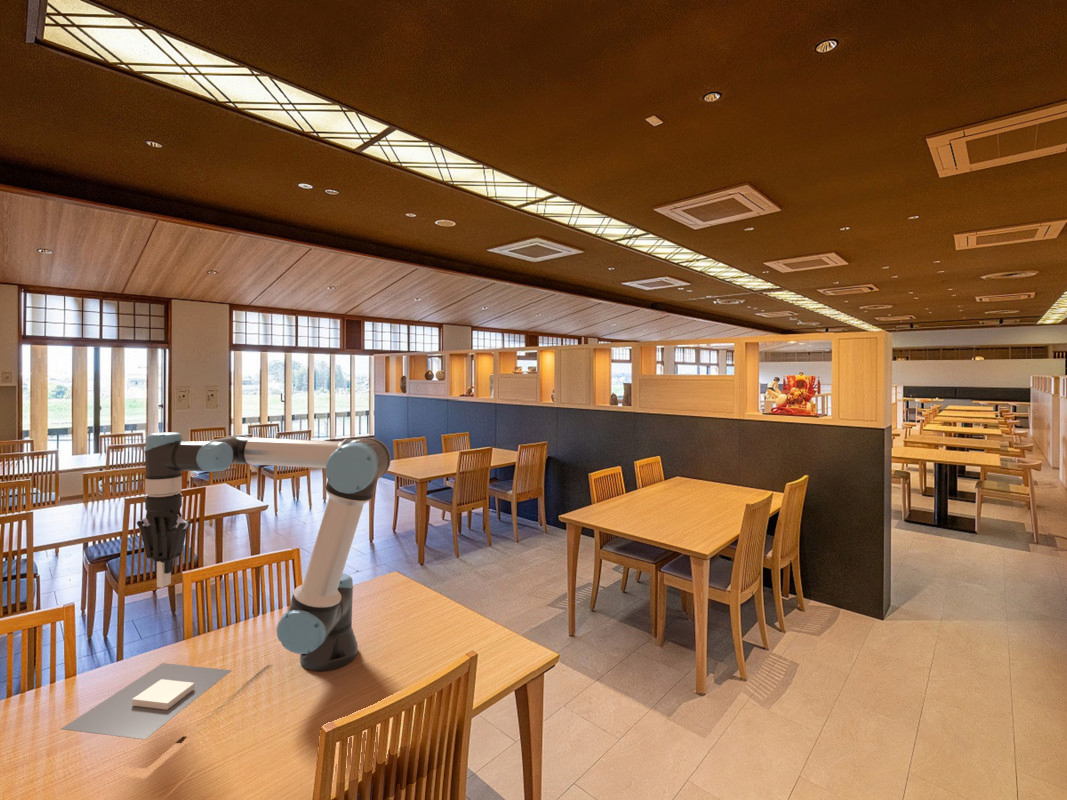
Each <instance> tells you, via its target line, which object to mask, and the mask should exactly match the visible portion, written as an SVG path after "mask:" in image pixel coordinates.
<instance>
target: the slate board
mask: <svg viewBox="0 0 1067 800" xmlns="http://www.w3.org/2000/svg"><path fill="white" fill-rule="evenodd" d="M232 671H233V670H231V669H222V668H213V667H205V666H204V667H203V666H194V665H186V664H185V665H183V664H174V663H167V662H162V663H160V664H159V665H157V666H155V667H154V668H153V669H151V670H150V671H148V672H146V673H145V674H143V675H142V676H140V677H138V678H137V679H136V680H134V681H133V682H131V683H129V684H128V685H127V686H125V687H123V688H122V689H120V690H119V691H117V692H116V693H114V694H112V695H111V696H110V697H108V698H106V699H104V700H103V701H101V702H100V703H98V704H97V705H95V706H93V708H90V709H89V710H87V711H86V712H84V713H83V714H81V715H79V716H78V717H77V718H75V719H74V720H72V721H70V722H69V723H67V724H66V725H64V726H63V727H61V728H60V730H65V731H73V732H80V733H81V732H82V733H89V734H98V735H107V736H116V737H123V738H131V739H138V740H146V739H147V738H148V737H150V736H151V735H153V734H154V733H155V732H156V731H158V730H159V729H160V728H161V727H162V726H164V725H165V724H166V723H167V722H169V721H170V720H172V719H173V718H174V717H175V716H177V715H178V714H179V713H180V712H182V711H183V710H185V708H186V707H188V706H189V705H190V704H191V703H193V702H194V701H196V699H199V697H200V696H202V695H203V694H204V693H205V692H207V691H208V690H209V689H210V688H212V687H213V686H214V685H215V684H217V683H218V682H219V681H220V680H221V679H223V678H225V676H227V675H229V673H231V672H232ZM161 679H164V680H173V681H182V682H191V683H195V689H194V690H192V691H191V692H190V693H188V694H187V695H186V696H185V697H183V698H182V699H181V700H179V701H178V702H177V703H175V704H174V705H173V706H171V707H170V708H169V709H168V710H166V709H158V708H149V707H141V706H132V699H133V698H134V697H136V696H137V695H139V694H140V693H142V692H143V691H145V690H146V689H148V688H149V687H151V686H152V685H153V684H155V683H156V682H158V681H159V680H161Z"/></svg>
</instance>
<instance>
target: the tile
mask: <svg viewBox="0 0 1067 800" xmlns="http://www.w3.org/2000/svg"><path fill="white" fill-rule="evenodd" d="M194 689H195V683H191V682H182V681H173V680H164V679H161V680H159V681H158V682H156V683H155V684H153V685H152V686H151V687H149V688H148V689H146V690H145V691H143V692H142V693H140V694H139V695H137V696H136V697H134V698H133V699H132V706H141V707H149V708H158V709H166V710H168V709H169V708H170V707H171V706H173V705H174V704H175V703H177V702H178V701H179V700H181V699H182V698H183V697H185V696H186V695H187V694H188V693H190V692H191V691H192V690H194Z"/></svg>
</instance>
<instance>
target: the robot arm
mask: <svg viewBox="0 0 1067 800" xmlns="http://www.w3.org/2000/svg"><path fill="white" fill-rule="evenodd" d="M182 436H183V435H182V434H181V433H180V432H167V431H166V432H153V433H150V434H148V435H147V436H146V437H145V445H144V461H145V462H144V463H145V465H144V467H145V479H144V480H145V482H144V483H145V484H144V487H145V488H144V494H145V495H146V496H145V497H144V498H145V499H144V502H145V503H144V507H145V508H144V509H145V511H147V513H146V515H145V518H143V519H140V520H137V522H136V525H137V527H138V528H139V530H140V535H141V538H142V542H143V543H142V544H143V547H144V552H145V556H146V559H151V560H152V561H154V573H155V574H156V587H157V588H159V589H161V588H165V587H166V586H169V585H171V584H172V572H173V571H174V560H175V559H177V558H179V557H181V556H182V552H183V548H184V545H185V544H184V543H185V540H186V535H187V531H188V528H189V527H190V526H191V520H189V519H188V520H185V519H184V518H183V515H182V512H181V508H182V505H183V494H182V492H181V491H182V488H183V484H182V483H183V482H182V478H183V477H182V475H183V472H208V473H213V472H223V471H226V470H228V468H229V467H230V466H231V465H234V464H235V465H258V466H276V467H277V466H279V467H295V468H296V467H297V468H315V469H325V477H326V479H327V481H326V485H325V489H324V490H325V492H326V493H327V495H328V497H329V498H328V499H327V504H326V507H325V510H324V514H323V516H322V519H321V522H320V523H321V524H320V526H319V530H318V533H317V536H316V538H315V542H314V546H313V549H312V552H311V556H310V559H309V563H308V566H307V569H306V572H305V575H304V579H303V582H302V584H300V585H298V586H297V587H295V588H294V590H293V593H292V597H291V600H290V602H289V607H288V609H287V612H285V613H283V615H282V616H281V617H280V620H278V622H277V626H276V635H277V639H278V641H279V642H280V643H281V645H282V647H283V648H284V649H285V650H286V651H289V652H290V653H294V654H298V655H300V656H299V663H300V665H301V666H302V667H303V668H305V669H306V670H309V671H316V672H323V671H325V672H326V671H331V670H336V669H338V668H339V669H340V668H341V667H344V666H346V665H348V664H349V663H351V662H352V661H354V659H356V657H357V656H358V648H359V647H358V642H357V638H356V636H355V632H354V629H353V625H352V623H353V622H352V621H353V618H352V617H353V599H354V598H353V597H354V596H353V593H354V586H353V585H354V583H353V577H352V576H350V575H349V574H346V573H344V570H345V567H346V564H347V560H348V556H349V554H350V550H351V547H352V544H353V541H354V537H355V534H356V532H357V528H358V524H359V522H360V517H361V515H362V511H363V508H364V505H365V504H366V503H368V502H370V501H371V500H372V499H373V496H374V493H375V490H376V487H377V483H378V481H379V479H381V477H383V476H385V474H386V473H387V472H388V471H389V468H390V466H391V461H392V455H391V451H390V450H389V448H388V447H387V445H386V444H385V443H384V442H383V441H381V440H379V439H377V438H372V437H365V438H344V440H342V441H332V440H331V441H328V440H311V439H310V440H309V439H292V438H289V439H288V438H273V437H272V438H270V437H269V438H268V437H255V436H253V437H252V436H251V437H250V436H248V435H244V434H237V435H236V434H235V435H231V436H226V437H221V438H217V439H211V440H210V439H208V440H203V441H202V440H201V441H191V440H190V441H187V440H184V439H183V437H182Z"/></svg>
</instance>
